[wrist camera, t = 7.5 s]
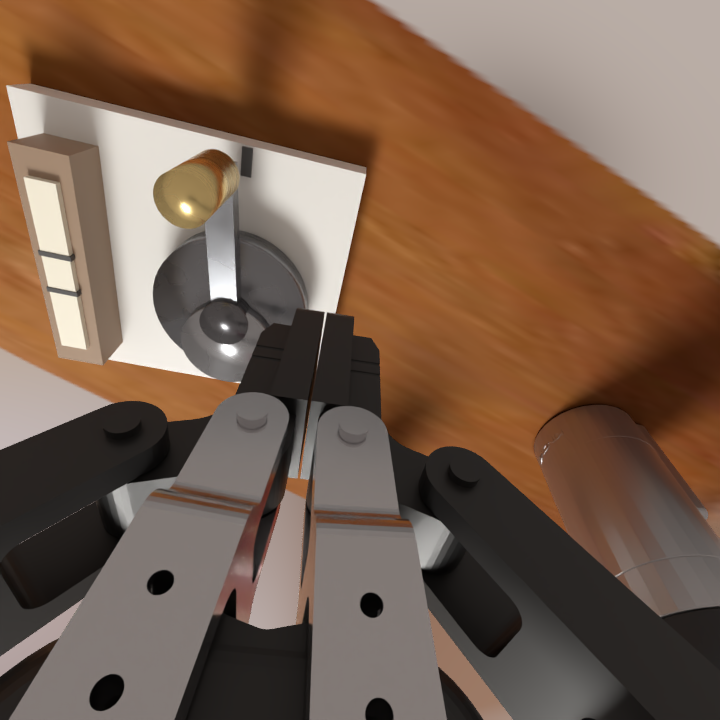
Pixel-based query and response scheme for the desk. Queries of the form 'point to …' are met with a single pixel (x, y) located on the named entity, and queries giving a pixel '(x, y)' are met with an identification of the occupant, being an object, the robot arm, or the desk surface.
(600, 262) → the desk surface
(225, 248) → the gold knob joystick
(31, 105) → the stand
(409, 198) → the desk surface
